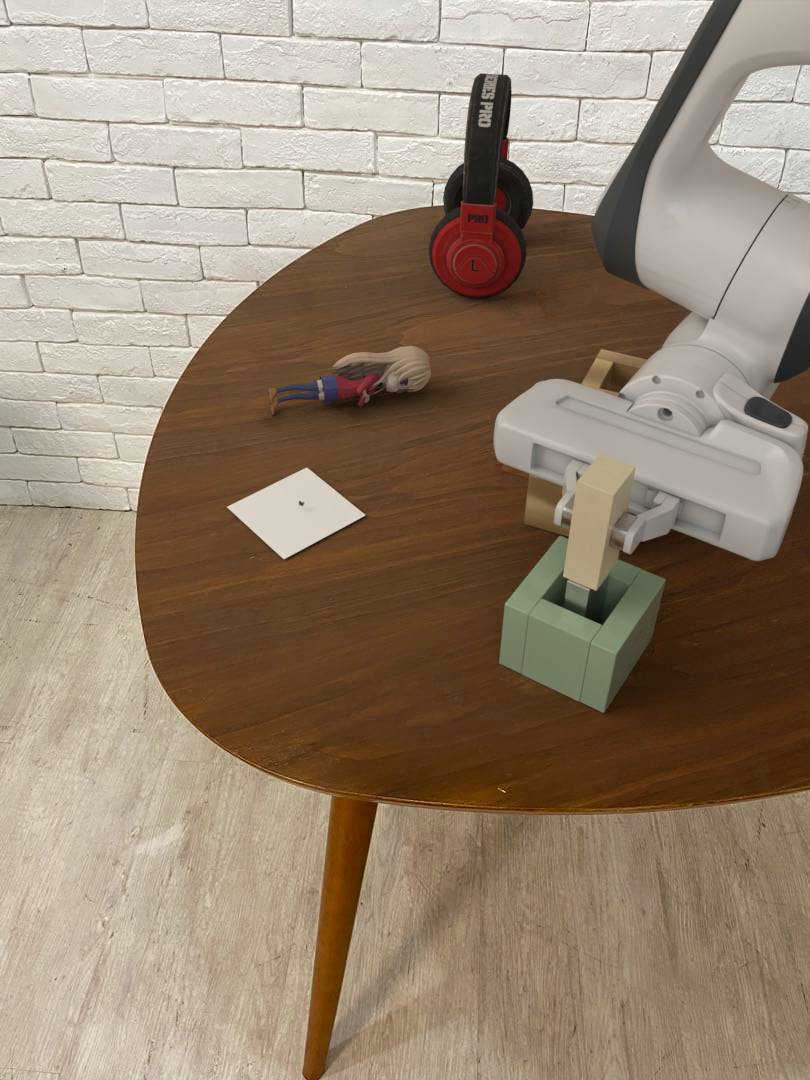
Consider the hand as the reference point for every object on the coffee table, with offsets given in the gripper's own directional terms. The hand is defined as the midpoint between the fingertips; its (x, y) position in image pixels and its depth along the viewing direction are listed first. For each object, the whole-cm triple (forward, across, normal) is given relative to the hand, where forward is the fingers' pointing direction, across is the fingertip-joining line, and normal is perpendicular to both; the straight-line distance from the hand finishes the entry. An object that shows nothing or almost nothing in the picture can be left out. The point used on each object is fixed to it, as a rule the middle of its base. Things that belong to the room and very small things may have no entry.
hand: (592, 531), depth 65 cm
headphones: (-45, -33, +12) cm, 58 cm away
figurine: (-17, -31, +12) cm, 38 cm away
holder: (-1, 0, +12) cm, 12 cm away
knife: (-1, 0, +12) cm, 12 cm away
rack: (-21, -7, +12) cm, 25 cm away
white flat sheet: (-2, -26, +12) cm, 28 cm away
